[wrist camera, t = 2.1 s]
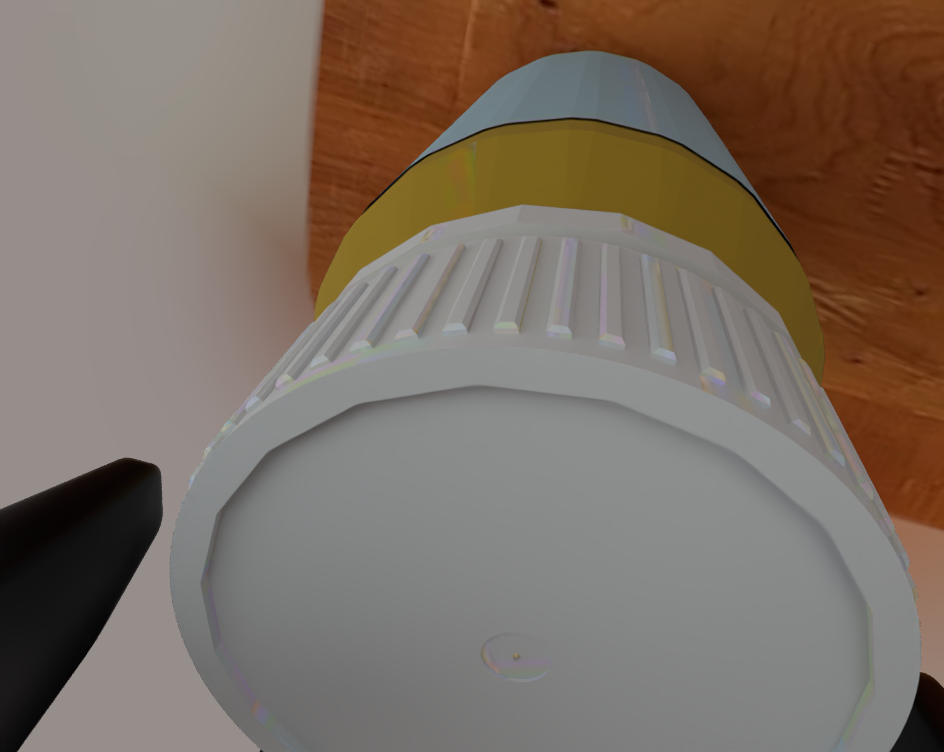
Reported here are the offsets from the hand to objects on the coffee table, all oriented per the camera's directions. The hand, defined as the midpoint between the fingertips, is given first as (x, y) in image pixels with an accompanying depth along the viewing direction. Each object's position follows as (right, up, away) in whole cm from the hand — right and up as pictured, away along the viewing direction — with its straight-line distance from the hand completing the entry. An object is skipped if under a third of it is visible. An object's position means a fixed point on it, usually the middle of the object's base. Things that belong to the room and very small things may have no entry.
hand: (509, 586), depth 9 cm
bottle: (+2, +8, +10) cm, 13 cm away
